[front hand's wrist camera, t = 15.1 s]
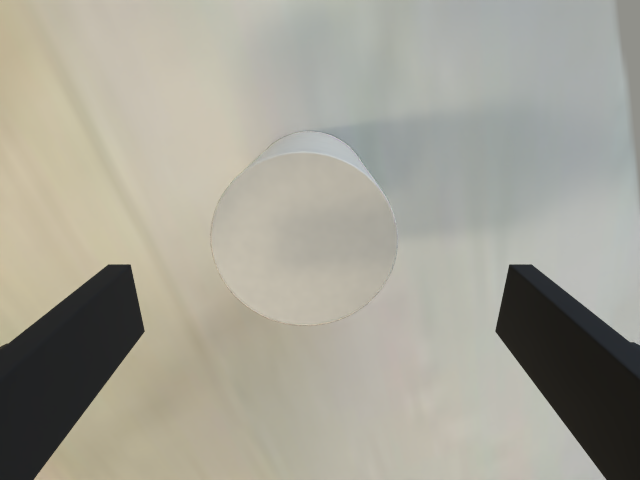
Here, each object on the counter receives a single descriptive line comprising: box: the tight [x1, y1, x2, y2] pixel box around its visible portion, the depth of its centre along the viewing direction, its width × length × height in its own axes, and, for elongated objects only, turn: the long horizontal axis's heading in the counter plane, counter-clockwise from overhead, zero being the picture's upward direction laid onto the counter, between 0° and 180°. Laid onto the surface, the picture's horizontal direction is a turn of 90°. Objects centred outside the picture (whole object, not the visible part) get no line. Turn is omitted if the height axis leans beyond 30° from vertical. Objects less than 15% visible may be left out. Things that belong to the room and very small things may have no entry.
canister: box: [211, 131, 398, 326], centre depth 21 cm, size 8×8×11 cm
